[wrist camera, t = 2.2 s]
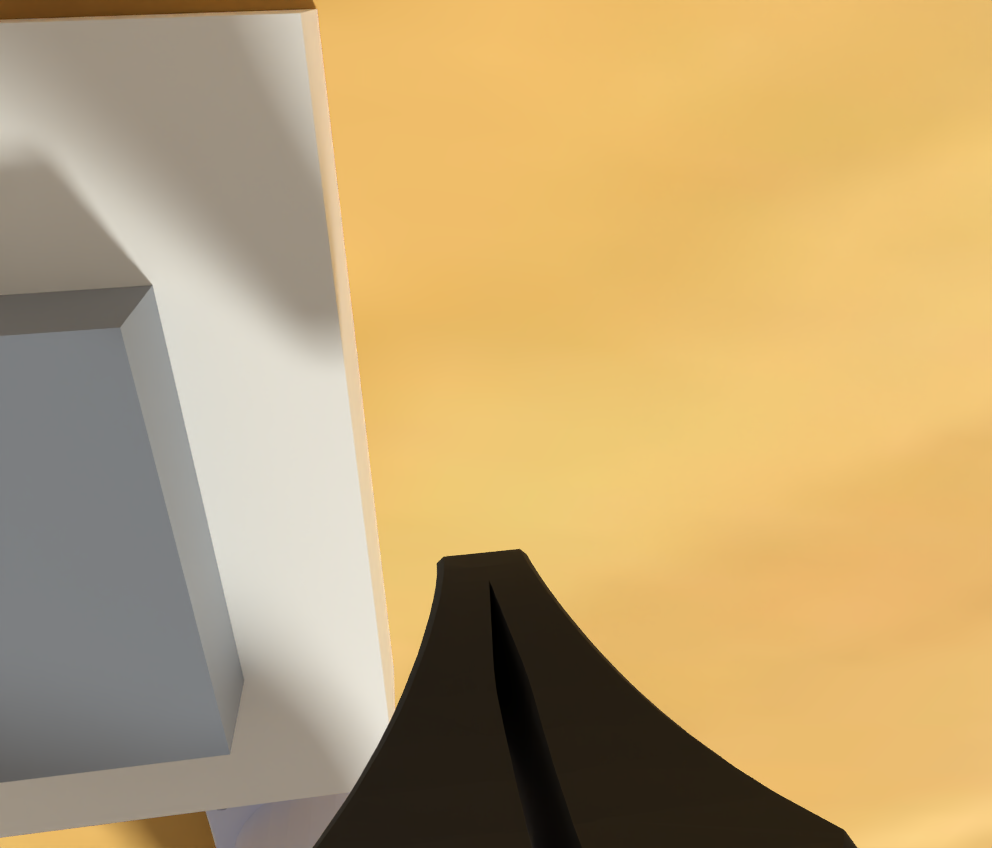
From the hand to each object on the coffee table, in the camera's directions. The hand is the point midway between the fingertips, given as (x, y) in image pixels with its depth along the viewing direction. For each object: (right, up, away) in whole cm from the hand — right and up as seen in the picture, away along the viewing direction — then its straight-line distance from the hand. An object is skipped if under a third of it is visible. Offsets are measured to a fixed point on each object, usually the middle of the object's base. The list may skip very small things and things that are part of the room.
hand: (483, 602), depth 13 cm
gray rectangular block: (-8, +1, +2) cm, 9 cm away
